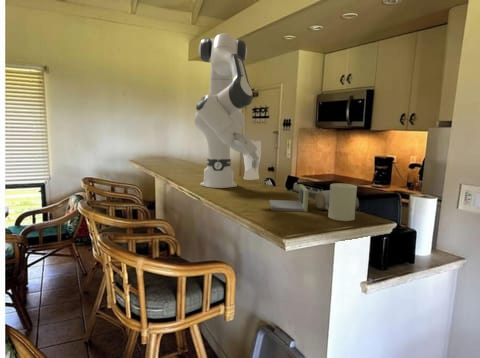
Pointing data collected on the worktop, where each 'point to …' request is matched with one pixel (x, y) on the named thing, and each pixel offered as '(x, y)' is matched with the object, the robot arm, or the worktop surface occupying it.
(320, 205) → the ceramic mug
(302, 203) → the chute mount
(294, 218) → the worktop surface
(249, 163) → the beer glass
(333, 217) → the can
